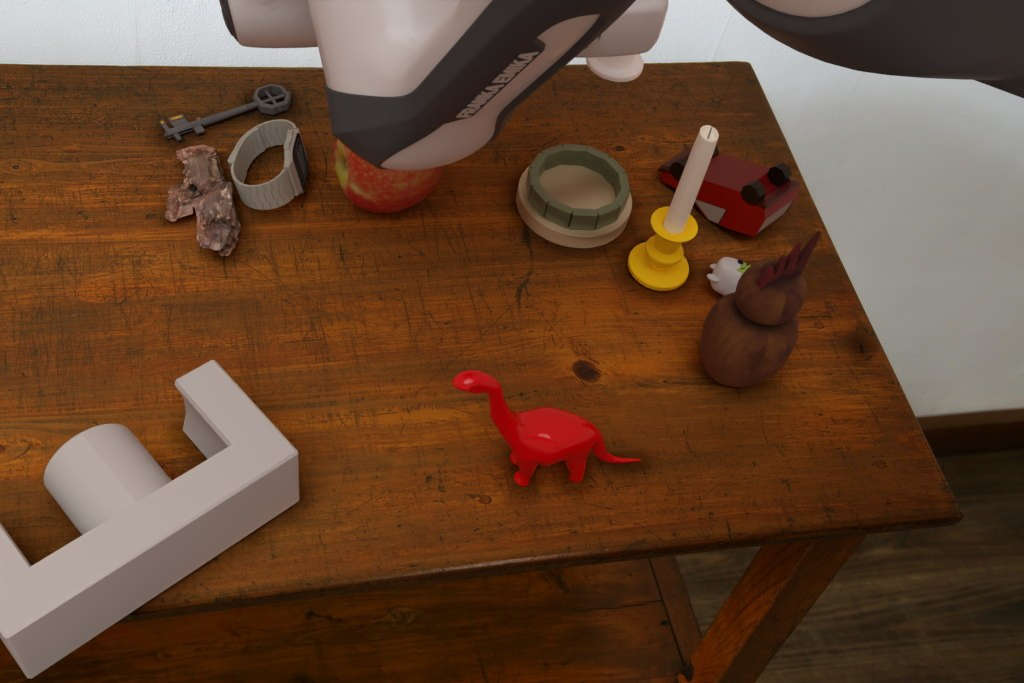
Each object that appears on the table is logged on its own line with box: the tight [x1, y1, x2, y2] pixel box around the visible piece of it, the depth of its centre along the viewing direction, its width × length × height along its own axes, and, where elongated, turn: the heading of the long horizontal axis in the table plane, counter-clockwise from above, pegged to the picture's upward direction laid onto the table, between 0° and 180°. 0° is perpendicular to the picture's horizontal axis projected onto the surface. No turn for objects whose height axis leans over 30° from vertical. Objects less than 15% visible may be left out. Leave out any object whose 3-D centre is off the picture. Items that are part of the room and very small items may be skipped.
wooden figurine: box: [699, 230, 822, 388], centre depth 76 cm, size 7×6×15 cm
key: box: [158, 83, 292, 142], centre depth 91 cm, size 12×1×3 cm
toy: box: [706, 256, 873, 361], centre depth 85 cm, size 7×3×15 cm
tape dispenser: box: [0, 359, 300, 680], centre depth 64 cm, size 19×9×6 cm, turn 133°
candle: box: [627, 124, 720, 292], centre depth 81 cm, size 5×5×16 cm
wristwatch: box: [227, 118, 310, 211], centre depth 85 cm, size 9×6×5 cm
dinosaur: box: [451, 369, 642, 487], centre depth 69 cm, size 4×15×12 cm, turn 100°
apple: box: [332, 138, 443, 214], centre depth 85 cm, size 8×8×8 cm
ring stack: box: [515, 143, 633, 249], centre depth 89 cm, size 10×10×3 cm
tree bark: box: [163, 144, 242, 257], centre depth 83 cm, size 6×12×2 cm, turn 19°
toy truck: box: [658, 144, 801, 238], centre depth 91 cm, size 6×12×5 cm, turn 43°
